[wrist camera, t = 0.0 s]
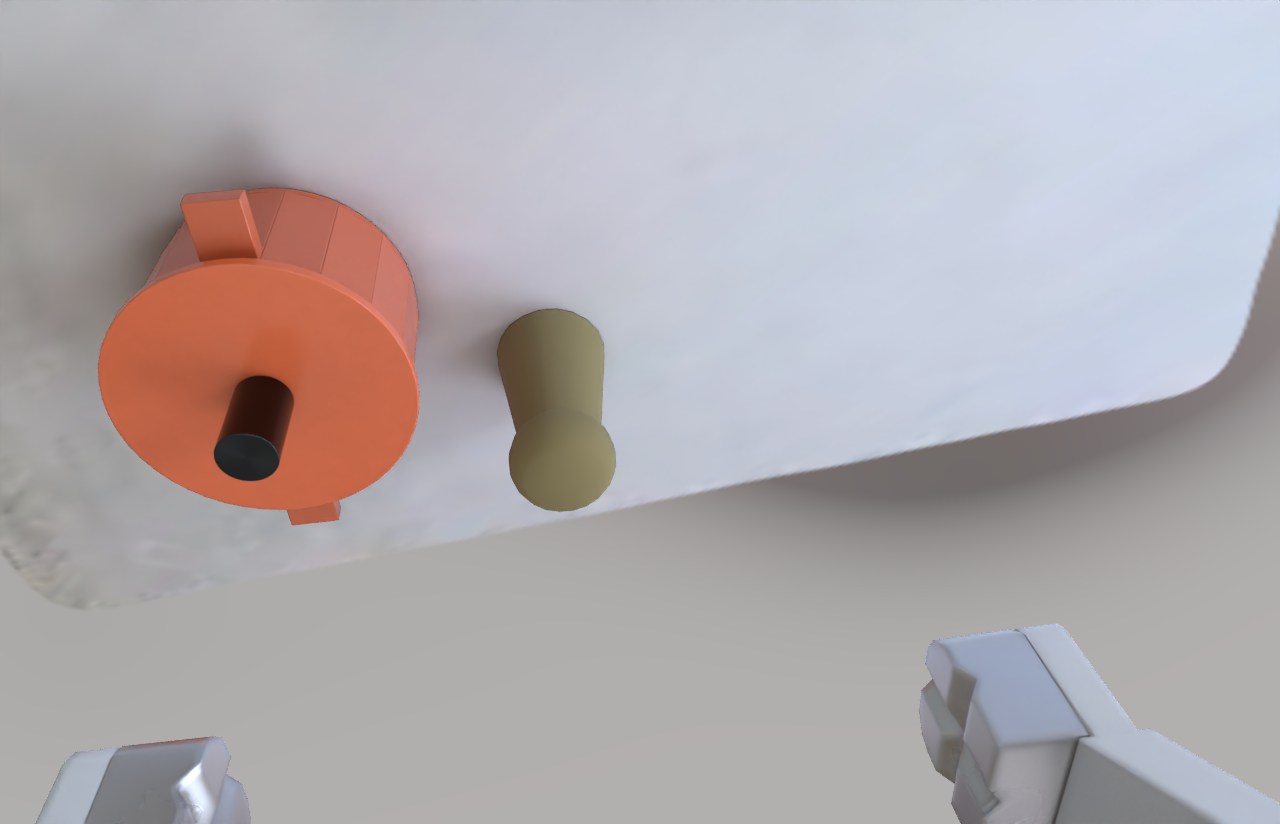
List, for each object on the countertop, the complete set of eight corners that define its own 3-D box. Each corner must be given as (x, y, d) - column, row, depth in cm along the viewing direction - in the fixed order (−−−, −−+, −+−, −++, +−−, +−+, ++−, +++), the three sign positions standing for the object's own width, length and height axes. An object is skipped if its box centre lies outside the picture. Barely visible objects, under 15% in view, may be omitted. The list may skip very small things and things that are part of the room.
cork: (571, 290, 52) (590, 413, 44) (623, 369, 56) (650, 497, 47) (475, 340, 53) (475, 470, 45) (532, 414, 57) (542, 548, 48)
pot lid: (165, 508, 48) (134, 589, 44) (55, 266, 40) (4, 337, 36) (441, 477, 49) (437, 553, 45) (390, 236, 41) (380, 301, 37)
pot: (219, 447, 55) (186, 547, 49) (103, 145, 44) (40, 223, 38) (442, 423, 56) (437, 518, 50) (381, 122, 45) (366, 195, 39)
